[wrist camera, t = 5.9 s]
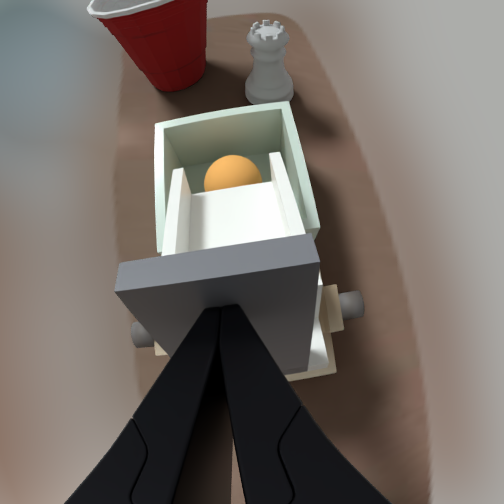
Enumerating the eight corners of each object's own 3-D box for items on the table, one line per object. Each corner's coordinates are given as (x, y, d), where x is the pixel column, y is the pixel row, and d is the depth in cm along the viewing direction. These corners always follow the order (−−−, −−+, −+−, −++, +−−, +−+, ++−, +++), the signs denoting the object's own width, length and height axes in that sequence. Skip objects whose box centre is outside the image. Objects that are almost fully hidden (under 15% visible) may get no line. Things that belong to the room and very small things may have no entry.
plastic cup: (234, 38, 29) (221, -51, 18) (226, 105, 26) (203, -4, 15) (143, 49, 30) (111, -28, 18) (118, 115, 27) (65, 30, 16)
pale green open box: (307, 254, 23) (320, 227, 17) (185, 272, 23) (157, 252, 17) (285, 148, 25) (288, 101, 19) (177, 166, 25) (155, 123, 19)
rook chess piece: (303, 98, 26) (310, 31, 19) (265, 119, 26) (262, 51, 18) (272, 72, 27) (271, 8, 20) (235, 92, 27) (225, 27, 19)
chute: (327, 367, 12) (357, 255, 6) (178, 386, 12) (85, 295, 6) (282, 187, 19) (273, 78, 13) (184, 203, 19) (151, 100, 14)
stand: (335, 370, 20) (376, 394, 12) (192, 390, 21) (144, 423, 12) (318, 266, 22) (347, 224, 14) (178, 287, 23) (125, 258, 14)
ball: (225, 134, 20) (231, 162, 24) (186, 178, 20) (199, 201, 23) (274, 163, 19) (273, 189, 23) (235, 211, 19) (241, 230, 23)
